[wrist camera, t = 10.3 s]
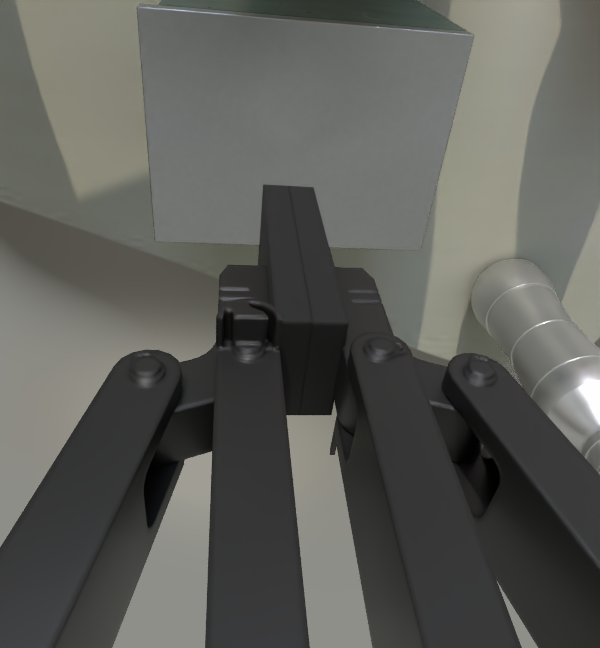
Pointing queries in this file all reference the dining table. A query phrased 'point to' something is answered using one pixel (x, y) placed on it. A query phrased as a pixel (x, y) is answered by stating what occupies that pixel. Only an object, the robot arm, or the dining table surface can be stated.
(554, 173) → the dining table surface
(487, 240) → the dining table surface
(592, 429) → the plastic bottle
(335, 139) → the lid
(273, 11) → the tin
